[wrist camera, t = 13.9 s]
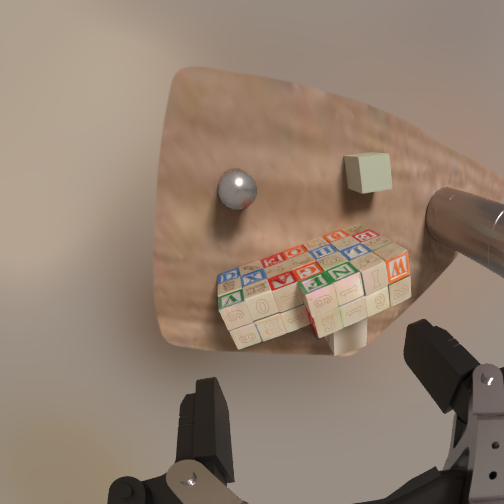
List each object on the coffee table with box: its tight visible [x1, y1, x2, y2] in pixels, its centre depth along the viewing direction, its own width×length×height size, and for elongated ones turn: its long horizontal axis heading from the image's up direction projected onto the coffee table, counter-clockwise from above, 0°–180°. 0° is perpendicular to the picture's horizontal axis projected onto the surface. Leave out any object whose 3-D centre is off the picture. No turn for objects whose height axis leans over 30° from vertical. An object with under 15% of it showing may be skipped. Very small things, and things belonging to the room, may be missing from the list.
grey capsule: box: [218, 169, 257, 210], centre depth 33 cm, size 4×4×6 cm
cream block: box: [324, 317, 367, 356], centre depth 40 cm, size 5×5×6 cm
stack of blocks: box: [217, 224, 411, 350], centre depth 34 cm, size 21×6×12 cm, turn 109°
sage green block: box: [344, 152, 392, 194], centre depth 34 cm, size 4×4×4 cm
